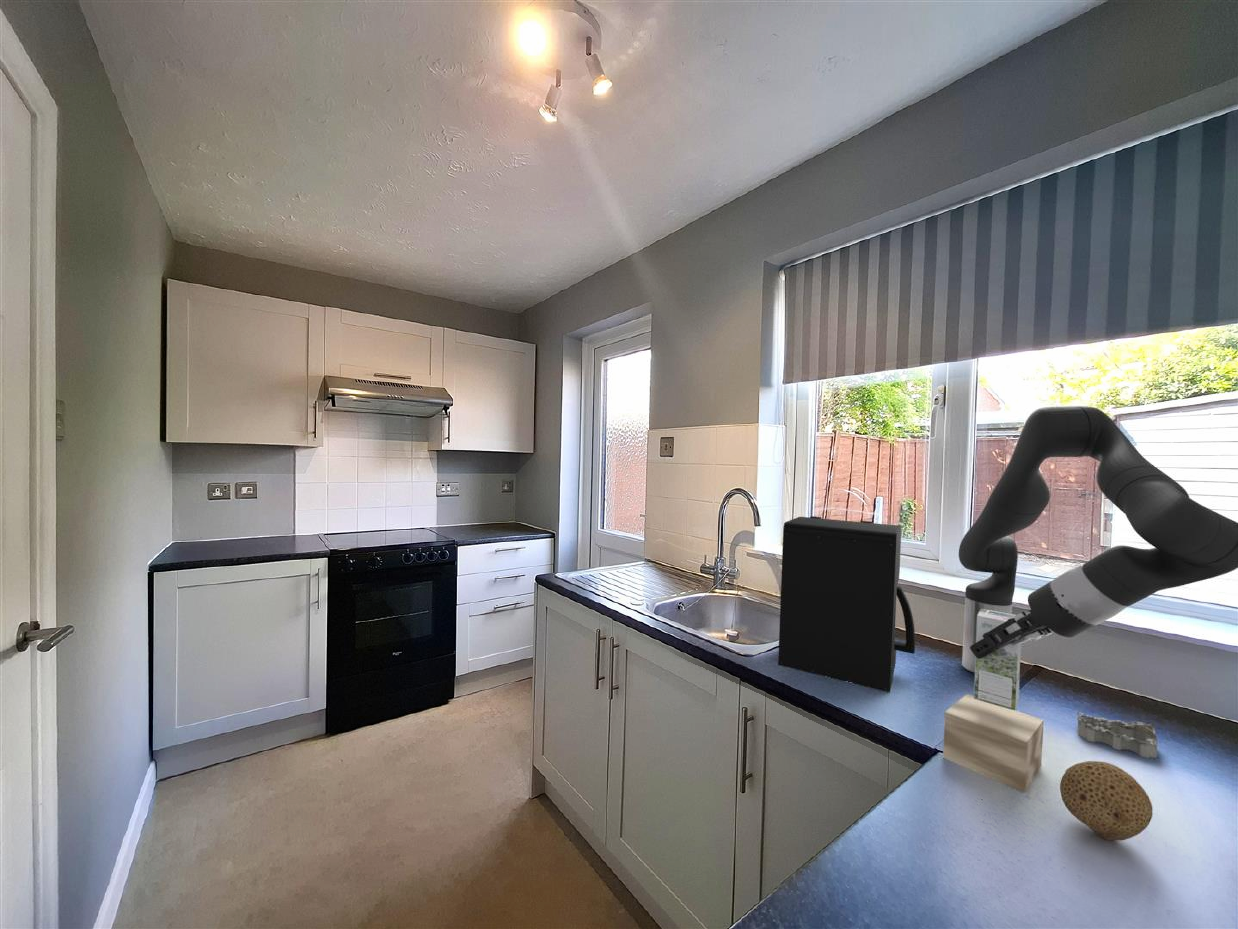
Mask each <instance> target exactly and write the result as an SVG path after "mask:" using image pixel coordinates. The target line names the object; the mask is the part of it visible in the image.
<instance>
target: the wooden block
mask: <svg viewBox="0 0 1238 929" xmlns="http://www.w3.org/2000/svg"><path fill="white" fill-rule="evenodd" d="M1044 721H1045V720H1044V719H1042V718H1039V717H1036V716H1033V715H1030V714H1027V713H1024V712H1021V711H1019V710H1017V709H1016V710H1011V709H1008V708H1004V707H1001V706H997V705H994V704H990V703H987V702H984V701H980V700H977V699H974V695H971V694H968V693H966V694H965V695H964V696H963V697H961V698H960V699H959V700H958V701H957V702H955V703H954V704H953V705H952V706H951V707H950V708H948V709H947V710H946V711H945V712H944V727H943V728H944V729H943V730H944V731H943V748H942V749H943V751H942V753H943V754H942V758H943V759H946V760H948V761H951V762H953V763H955V764H957V765H960V766H962V767H964V768H967V769H969V770H971V771H973V772H975V773H978V774H981V775H983V776H985V777H987V778H989V779H992V780H994V781H996V782H999V783H1001V784H1003V785H1005V786H1008V787H1011V788H1012V789H1015V790H1017V791H1019V792H1022V793H1025V792H1026V791H1027V789H1028V788H1029V786H1030V784H1031V783H1032V781H1033V780H1034V778H1035V777H1036V775H1037V773H1038V772H1039V771H1040V769H1041V767H1042V757H1043V740H1044V739H1043V738H1044Z"/></svg>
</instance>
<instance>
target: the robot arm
mask: <svg viewBox="0 0 1238 929" xmlns="http://www.w3.org/2000/svg"><path fill="white" fill-rule="evenodd" d="M1018 436H1019V437H1018V439H1017V440H1016V441H1017V442H1016V445H1015V447H1014V450H1013V452H1012V455H1011V457H1010V460H1009V462H1008V463H1007V466H1006V468H1005V469H1004V471H1003V473H1002V475H1001V477H1000V478H999V480H998V482H997V483H996V485H995V486H994V488H993V490H992V492H991V493H990V495H989V497H988V500H987V501H986V503H985V505H984V507H983V510H982V511H981V513H980V514H979V516H978V518H977V519H976V520H975V522H974V523H973V525H971V526H970V528H969V529H968V531H967V532H966V533H965V535H963V538H962V539H961V541H960V544H959V546H958V547H959V548H958V559H959V562H960V565H962V566H963V567H964V568H965V569H967V570H969V571H971V572H978V573H979V572H981V573H990V574H991V575H990V577H988V578H986V579H984V580H982V581H977V582H974V583H970V584H967V585H966V588H965V591H964V592H965V595H964V596H965V598H964V617H963V641H962V659H961V660H962V661H961V665H962V667H963V668H964V669H966V670H967V671H969V672H971V673H973V674H975V656H976V657H977V658H978V659H981V658H984V657H986V656H987V655H989V654H991V653H993V652H995V651H997V650H1001V649H1002V648H1004V647H1006V646H1008V645H1013V646H1017V645H1019V644H1021V645H1023V644H1024V643H1028V644H1029V643H1031V642H1035V641H1038V640H1040V639H1043V638H1045V637H1048V636H1050V635H1051V634H1053V633H1054V634H1057V635H1059V636H1061V637H1065V638H1074V637H1076V636H1078V635H1080V634H1081V633H1083V632H1084V633H1085V632H1086V631H1088V630H1090V629H1092V628H1093V627H1096V626H1097V625H1099V624H1102V623H1103V622H1106V621H1107V620H1109V619H1112V618H1113V617H1115V616H1117V615H1118V614H1119V613H1121V612H1122V611H1124V610H1125V609H1126V608H1128V607H1130V606H1132V605H1135V604H1137V603H1139V602H1140V601H1142V600H1144V599H1146V598H1148V597H1150V596H1151V595H1154V594H1155V593H1158V592H1159V591H1163V590H1167V589H1173V588H1178V587H1182V586H1186V585H1189V584H1192V583H1197V582H1202V581H1206V580H1210V579H1213V578H1216V577H1217V578H1218V577H1220V576H1223V575H1226V574H1229V573H1231V572H1233V571H1235V570H1237V569H1238V522H1237V521H1235V520H1233V519H1231V518H1228V517H1226V516H1225V515H1223V514H1220V513H1218V512H1216V511H1214V510H1212V509H1211V508H1208V507H1206V506H1204V505H1202V504H1200V503H1198V502H1197V501H1195V500H1194V499H1192V498H1190V496H1189V493H1188V492H1187V491H1186V489H1185V488H1184V487H1183V486H1182V485H1181V484H1180V483H1178V482H1177V481H1176V480H1175V479H1173V478H1172V477H1171V476H1170V475H1168V474H1166V473H1165V472H1164V471H1163V470H1161V469H1159V468H1158V467H1156V465H1154V464H1152V463H1151V462H1150V461H1148V459H1146V458H1145V457H1144V456H1143V455H1142V454H1141V453H1140V452H1139V451H1138V450H1137V448H1136V447H1135V446H1134V445H1133V443H1132V442H1131V441H1130V440H1129V438H1128V437H1127V436H1126V435H1125V433H1124V432H1123V431H1122V430H1121V429H1120V428H1119V427H1118V425H1117V424H1116V423H1115V421H1113V419H1111V417H1110V416H1109V415H1108V414H1107V413H1105V412H1104V411H1103V410H1101V409H1100V408H1098V407H1097V408H1096V407H1093V406H1089V405H1088V406H1086V405H1085V406H1084V405H1071V406H1070V405H1069V406H1065V405H1063V406H1046V407H1039V408H1037V409H1035V410H1034V411H1032V412H1031V413H1030V414H1029V416H1028V417H1027V418H1026V420H1025V422H1024V424H1023V426H1022V429H1021V431H1020V434H1019V435H1018ZM1082 457H1090V458H1092V459H1093V460H1096V461H1098V462H1099V465H1098V467H1097V470H1096V474H1095V475H1096V476H1095V478H1096V483H1097V486H1098V488H1099V490H1100V491H1101V492H1102V494H1103V495H1104V496H1105V497H1106V498H1107V499H1108V500H1109V501H1110V503H1112V504H1113V505H1114V506H1116V507H1117V508H1118V510H1120V511H1121V512H1122V513H1123V514H1125V516H1126V519H1127V520H1128V522H1129V524H1130V525H1131V527H1132V529H1133V530H1134V532H1135V533H1136V534H1137V535H1138V536H1139V537H1141V538H1142V539H1143V540H1144V541H1145V542H1146V543H1148V544H1149V545H1151V546H1152V547H1153V548H1139V547H1133V546H1130V545H1115V546H1112V547H1110V548H1108V549H1106V550H1105V551H1103V552H1101V553H1100V554H1098V555H1096V556H1095V557H1093V558H1092V559H1090V560H1088V561H1087V562H1085V563H1083V564H1081V565H1078V566H1076V567H1075V568H1071V569H1069V570H1068V571H1066V572H1064V573H1062V574H1061V575H1058V576H1057V577H1055V578H1054V579H1052V580H1051V581H1049V582H1047V583H1046V584H1044V585H1042V586H1041V587H1039V588H1037V589H1036V590H1034V591H1031V592H1030V593H1029V594H1028V596H1027V605H1028V606H1029V608H1030V610H1029V611H1022V612H1020V613H1017V614H1014V615H1015V617H1014V618H1012V619H1011V618H1010V619H1008V621H1006V622H1004V623H1002V624H1000V625H999V626H997V627H996V628H994V629H992V630H991V631H989V632H987V633H984V635H982V636H983V638H984V639H982V640H980V641H979V642H977V643H976V632H977V615H978V613H979V611H980V610H981V609H986V610H991V611H997V612H1002V613H1007V614H1013V598H1014V594H1015V588H1016V578H1017V571H1018V561H1019V560H1018V558H1019V554H1018V552H1019V551H1018V550H1019V549H1018V546H1017V542H1016V540H1014V538H1012V537H1011V536H1010V535H1013V534H1016V533H1018V532H1020V531H1023V530H1024V529H1027V528H1029V527H1030V526H1032V525H1033V524H1034V523H1035V522H1037V520H1038V519H1039V518H1040V516H1041V515H1042V513H1043V512H1044V511H1045V509H1046V507H1047V506H1048V504H1049V502H1050V498H1051V493H1050V492H1051V491H1050V489H1049V486H1048V483H1047V482H1046V480H1045V479H1044V477H1043V474H1042V473H1041V471H1040V467H1041V465H1042V463H1043V462H1044V461H1045V460H1048V459H1049V458H1082ZM996 635H998V636H999V637H1000V639H1001V642H1000V641H999V640H998V639H997V638H996ZM1016 638H1019V640H1016Z"/></svg>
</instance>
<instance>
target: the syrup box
mask: <svg viewBox="0 0 1238 929" xmlns="http://www.w3.org/2000/svg"><path fill="white" fill-rule="evenodd" d="M1015 615H1016V614H1013V613H1012V614H1007V613H1002V612H997V611H991V610H986V609H981V610H980V611H979V613H978V615H977V632H976V643H977V642H979V641H980V640H982V639H984V638H983V636H982V635H984V633H987V632H989V631H991V630H992V629H994V628H996V627H997V626H999V625H1000V624H1002V623H1004V622H1006V621H1008V619H1010V618H1011V619H1012V618H1014V617H1015ZM996 638H997V639H998V640H999V641H1000V642H1001V639H1000V637H999V636H998V635H996ZM1016 640H1019V638H1016ZM1021 653H1022V644H1019V645H1017V646H1013V645H1008V646H1006V647H1004V648H1002V649H1001V650H997V651H995V652H993V653H991V654H989V655H987V656H986V657H984V658H981V659H978V658H977V657H976V656H975V673H974V686H973V687H974V688H973V689H974V690H973V696H974V699H977V700H980V701H984V702H987V703H990V704H994V705H997V706H1001V707H1004V708H1008V709H1011V710H1016V711H1017V707H1018V703H1019V700H1020V672H1021V669H1020V668H1021V667H1020V666H1021Z"/></svg>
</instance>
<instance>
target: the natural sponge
mask: <svg viewBox="0 0 1238 929" xmlns="http://www.w3.org/2000/svg"><path fill="white" fill-rule="evenodd" d="M1060 779H1061V780H1060V786H1059V787H1060V788H1059V790H1060V796H1061V800H1062V802H1063V804H1064V806H1065V807H1066V809H1067V810H1068V812H1069V813H1070V814H1071V815H1073V816H1074V818H1076V819H1077V820H1078V821H1080V822H1081V823H1083V824H1084V825H1085V826H1087V827H1088V828H1089V829H1090V830H1091V831H1092V832H1093V833H1094V834H1095V835H1097V836H1099V837H1100V838H1103V839H1104V840H1108V841H1109V840H1110V841H1114V842H1115V841H1126V840H1128V839H1131V838H1134V837H1136V836H1138V835H1140V834H1141V833H1142V832H1144V830H1146V829H1147V828H1148V826H1149V825H1150V823H1151V822H1152V819H1153V810H1154V809H1153V804H1152V802H1151V800H1150V798H1149V795H1148V794H1147V791H1146V790H1145V789H1144V787H1142V786H1141V784H1140V783H1139V782H1138V781H1137V780H1136V779H1135V778H1134V777H1133V776H1132V775H1131V774H1129V773H1128V772H1127V771H1125V770H1123V769H1122V768H1120V767H1118V766H1117V765H1115V764H1112V763H1109V762H1106V761H1101V760H1100V761H1096V760H1090V761H1089V760H1088V761H1082V762H1077V763H1075V764H1074V765H1072V766H1070V767H1068V768H1066V769H1065V773H1064V774H1062V777H1061V778H1060Z"/></svg>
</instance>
